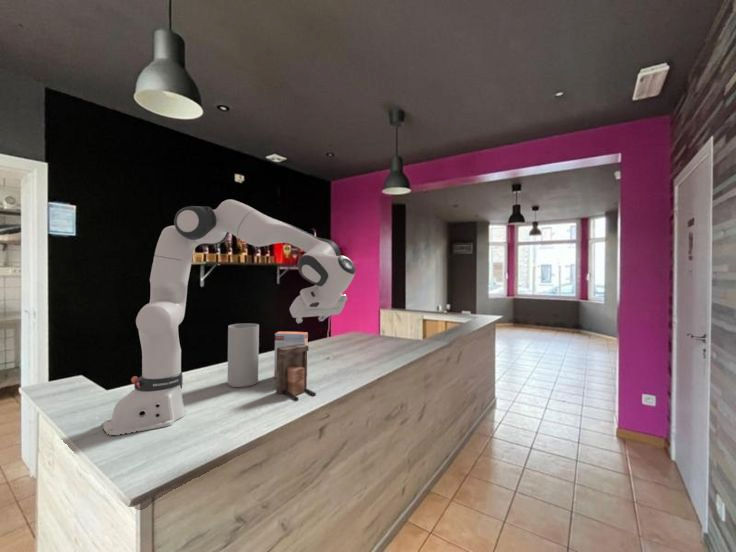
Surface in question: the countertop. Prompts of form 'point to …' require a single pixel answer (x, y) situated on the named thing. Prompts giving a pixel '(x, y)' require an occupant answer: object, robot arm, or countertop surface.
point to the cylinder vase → (243, 354)
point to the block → (295, 380)
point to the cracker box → (289, 342)
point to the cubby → (291, 358)
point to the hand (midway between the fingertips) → (309, 320)
